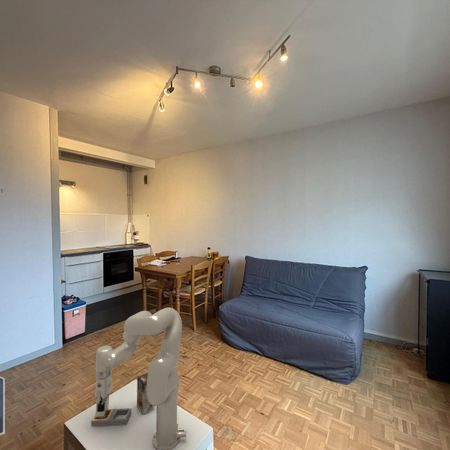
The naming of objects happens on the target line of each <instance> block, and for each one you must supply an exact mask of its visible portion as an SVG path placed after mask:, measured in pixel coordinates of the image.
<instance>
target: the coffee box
mask: <svg viewBox="0 0 450 450" xmlns="http://www.w3.org/2000/svg"><path fill="white" fill-rule="evenodd" d="M147 377H148V372H146V373H144V374H141V375H139V376H137V377H136V378H137V379H136V383H137V384H136V386H137V387H136V407H137V408H138V409H139V411H140V412H141V414H142V415H143V416H144V415H147V414H149V412H151V411H154V410H155V406H153V405H151V404H150V403H149V401H148V399H147V396H146V387H147Z"/></svg>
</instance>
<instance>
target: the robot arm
mask: <svg viewBox="0 0 450 450" xmlns="http://www.w3.org/2000/svg"><path fill="white" fill-rule="evenodd" d="M182 328H183V322H182V318H181V316H180V314H179V312H178V311H177V310H176V309H175V308H173V307H164V308H162V309H160V310H158V311H157V312H155V313H153V314H152V313H151V312H150V311H148V310H141V311H139V312H137V313H135V314H133V315H131V316H130V317H128V318H127V319H126V320H125V322H124V326H123V331H124V332H123V333H122V339H123V342H122V344H121V345H120V346H119V345H118V346H117V347H116V348H114V349H113V347H112V346H110V345H102V346H99V347H98V348H97V349H96V352H95V353H96V354H95V379H96V381H95V388H94V389H95V390H94V391H95V394H94V396H95V398H94V399H96V400H95V405H96V404H97V412H103V411H104V399H105V398H106V397H107V395H109V394H110V392H111V390H112V388H113V369H115V368H116V367H118V366H119V365H121V364H122V363H123V362H125V361H126V360H127V359H129V358H130V357H131V356H132V354H133V353H134V352H135V351H136V349H137V348H138V347H139V346H138V345H139V342H140V340H141V339H142V337H149V336H156V335H158V334H160V333H162V332H163V331H164V332H163V335H162V341H161V348H160V352H159V353H158V354H157V355H156V356H155V357H154V358H153V359H152V360H151V361H150V363H149V366H148V369H147V373H148V377H147V387H146V396H147V399H148V401H149V403H150V404H151V405H153V406H154V407H156V413H155V415H156V416H155V417H156V418H155V420H156V423H155V426H156V427H155V433H154V434H153V437H152V445H153V447H154V449H156V450H172V449H174V448H175V447H176V446H177V445H178V443H179V442H180V439H181V438H186V437H187V431H186V430H185V427H179V423H178V399H179V398H178V395H179V388H180V374H179V372H178V371H177V370H176V367H177V365H178V364H179V361H180V353H181V340H182V339H181V338H182V330H183V329H182ZM109 396H110V395H109ZM100 399H102V401H100Z"/></svg>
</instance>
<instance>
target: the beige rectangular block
mask: <svg viewBox="0 0 450 450" xmlns="http://www.w3.org/2000/svg"><path fill="white" fill-rule="evenodd" d="M100 401H102V399H100ZM109 403H110V395H107V397H106V398H105V399H104V411H103V412H97V404H96V403H95V412H94V413H95V415H94V416H95V417H98V418H105V417H106V416H107V415H106V414H107V412H108V409H109Z"/></svg>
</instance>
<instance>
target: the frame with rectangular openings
mask: <svg viewBox="0 0 450 450" xmlns="http://www.w3.org/2000/svg"><path fill="white" fill-rule="evenodd" d="M119 415H120V416H123V415H124V416H125V418H117V416H119ZM131 415H132V408H130V407H128V408H108V412H107V414H106V415H105V416H107V417H106V418H99V417H95V415H94V416H93V418H92V420H91V421H90V424H91V425H90V426H91V427H109V426H126V425H127V424H128V421H129V419H130V417H131Z"/></svg>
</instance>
